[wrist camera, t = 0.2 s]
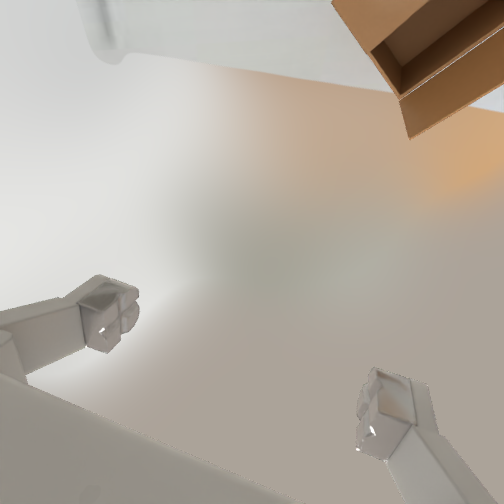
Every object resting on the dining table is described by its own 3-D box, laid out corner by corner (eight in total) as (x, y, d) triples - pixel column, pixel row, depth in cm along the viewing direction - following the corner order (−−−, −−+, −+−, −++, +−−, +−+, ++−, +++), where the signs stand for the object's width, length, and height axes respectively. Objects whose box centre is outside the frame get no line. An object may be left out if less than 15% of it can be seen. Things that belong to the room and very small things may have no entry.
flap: (584, 32, 26) (585, 35, 26) (551, -6, 29) (552, -4, 30) (408, 138, 36) (409, 140, 36) (398, 101, 39) (400, 102, 40)
